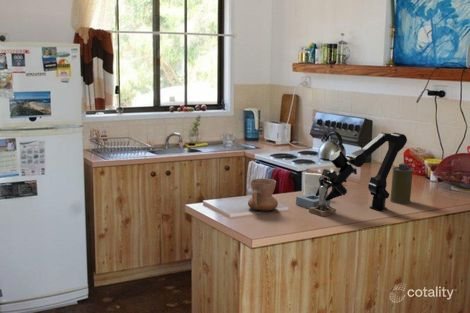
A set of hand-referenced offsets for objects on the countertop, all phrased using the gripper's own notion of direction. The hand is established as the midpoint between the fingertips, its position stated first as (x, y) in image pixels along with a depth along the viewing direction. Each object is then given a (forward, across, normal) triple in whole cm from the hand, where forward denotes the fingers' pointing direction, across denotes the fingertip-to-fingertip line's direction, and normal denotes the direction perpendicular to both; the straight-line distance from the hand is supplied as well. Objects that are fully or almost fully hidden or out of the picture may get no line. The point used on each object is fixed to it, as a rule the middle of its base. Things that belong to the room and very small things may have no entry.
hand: (320, 198), depth 286 cm
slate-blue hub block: (+3, -13, +8) cm, 16 cm away
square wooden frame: (+4, 0, +6) cm, 7 cm away
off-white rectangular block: (-3, -31, +14) cm, 34 cm away
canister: (-32, -9, +43) cm, 54 cm away
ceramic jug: (+23, -13, -12) cm, 29 cm away
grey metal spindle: (+4, 0, +6) cm, 7 cm away
